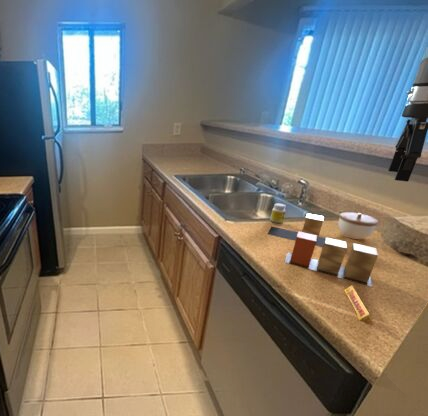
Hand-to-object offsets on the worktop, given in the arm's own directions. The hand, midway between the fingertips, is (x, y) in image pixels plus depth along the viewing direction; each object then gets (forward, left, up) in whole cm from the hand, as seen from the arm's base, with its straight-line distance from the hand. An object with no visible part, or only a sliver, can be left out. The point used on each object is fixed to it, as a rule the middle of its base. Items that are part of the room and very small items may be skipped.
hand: (397, 176), depth 85 cm
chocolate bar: (+5, +38, -27) cm, 47 cm away
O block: (+17, +2, -26) cm, 31 cm away
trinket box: (+4, -11, -27) cm, 29 cm away
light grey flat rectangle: (+12, +22, -27) cm, 36 cm away
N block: (+5, +22, -26) cm, 35 cm away
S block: (+18, +22, -26) cm, 39 cm away
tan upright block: (+11, +22, -26) cm, 36 cm away
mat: (+21, +2, -27) cm, 34 cm away
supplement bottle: (+29, -8, -27) cm, 40 cm away
